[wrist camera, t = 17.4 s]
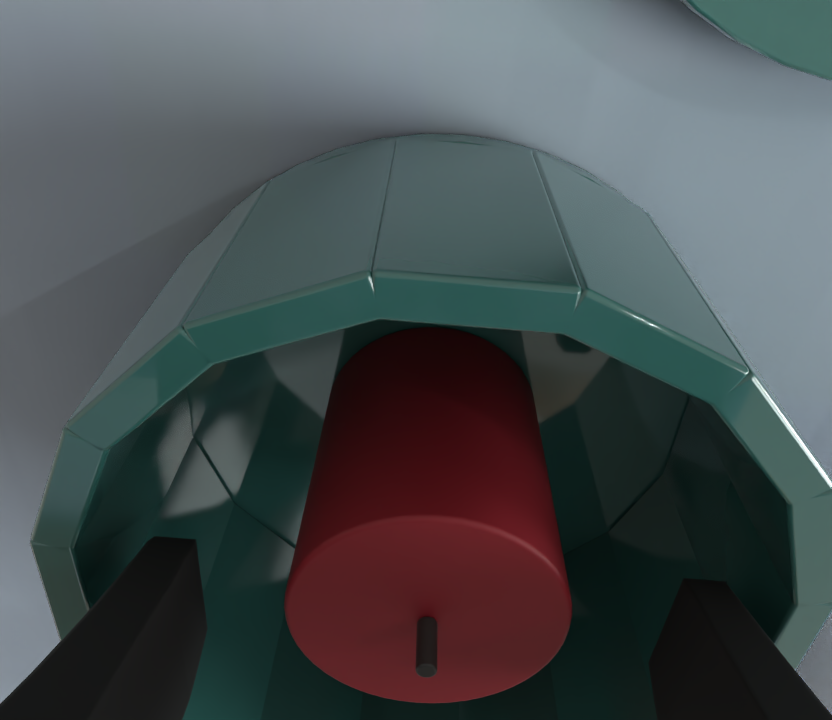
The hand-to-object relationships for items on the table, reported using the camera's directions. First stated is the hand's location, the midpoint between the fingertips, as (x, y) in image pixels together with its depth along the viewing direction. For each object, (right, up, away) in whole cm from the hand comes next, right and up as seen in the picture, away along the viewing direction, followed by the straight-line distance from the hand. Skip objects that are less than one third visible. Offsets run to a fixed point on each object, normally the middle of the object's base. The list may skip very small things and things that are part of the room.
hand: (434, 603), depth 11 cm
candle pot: (0, +3, +4) cm, 5 cm away
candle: (0, +3, +4) cm, 5 cm away
